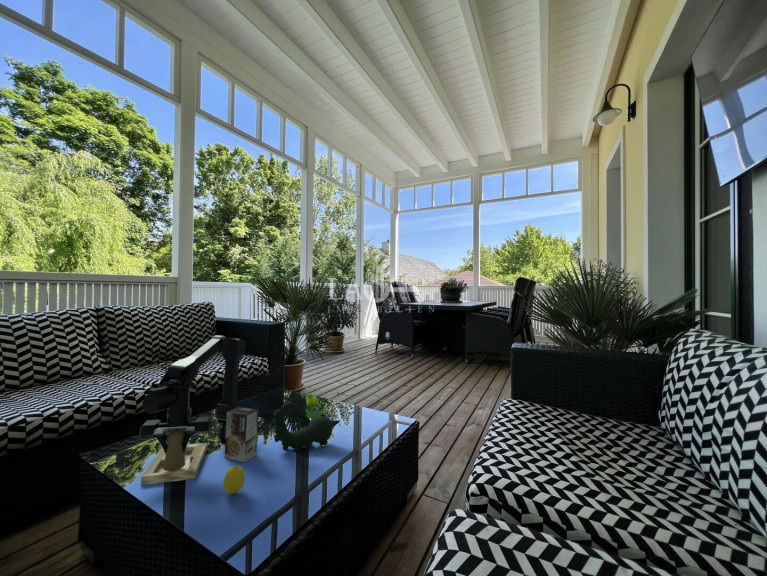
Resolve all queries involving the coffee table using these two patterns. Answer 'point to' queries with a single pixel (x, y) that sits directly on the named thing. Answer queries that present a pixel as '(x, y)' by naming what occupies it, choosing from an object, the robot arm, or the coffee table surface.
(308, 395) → the fruit basket
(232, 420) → the coffee box
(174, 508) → the coffee table surface
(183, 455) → the cork
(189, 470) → the keyhole plate
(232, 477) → the lemon
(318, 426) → the toy figurine
